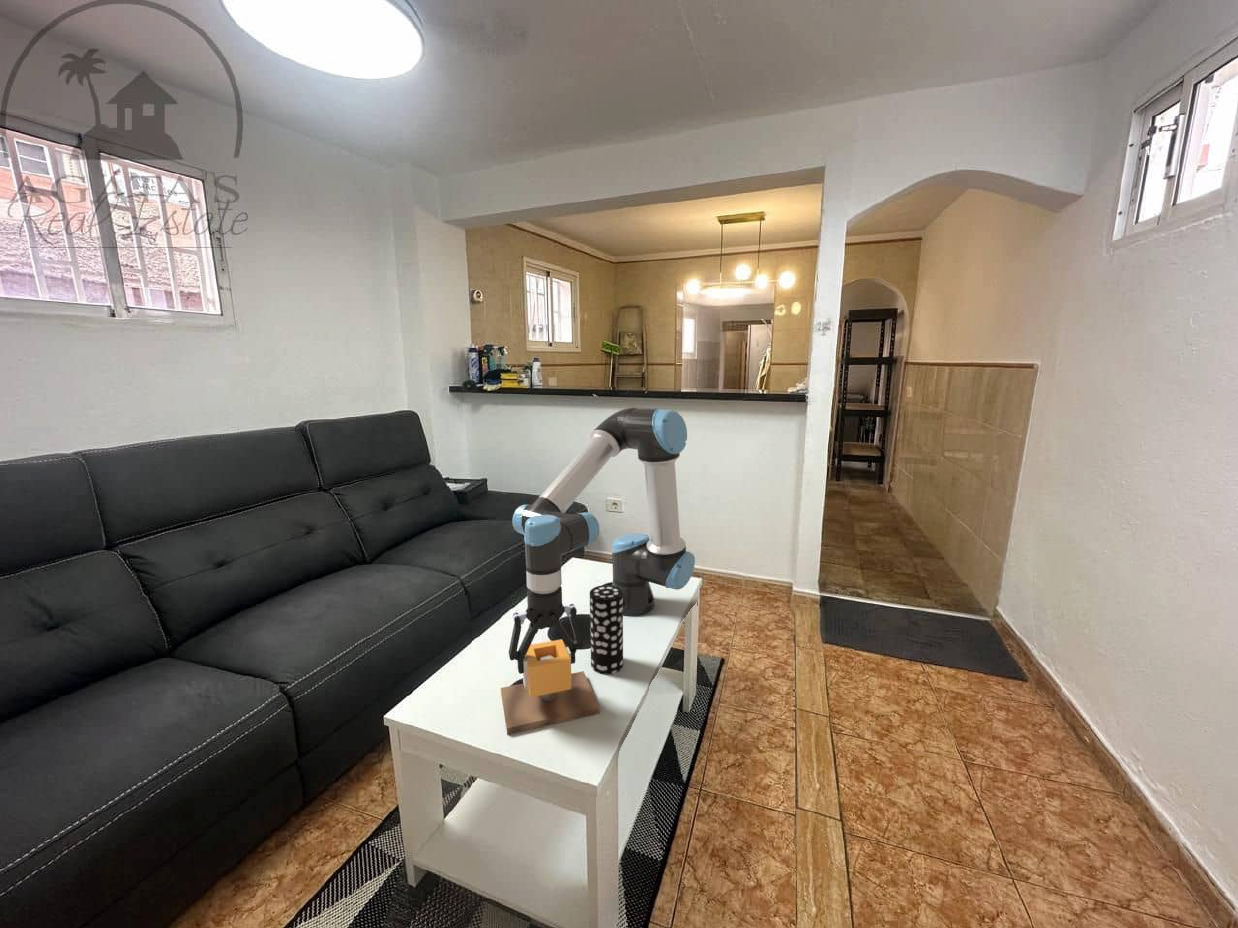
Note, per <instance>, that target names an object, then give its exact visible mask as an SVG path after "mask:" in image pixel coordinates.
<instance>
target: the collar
mask: <svg viewBox="0 0 1238 928" xmlns="http://www.w3.org/2000/svg"><path fill="white" fill-rule="evenodd" d="M566 647H567V646H566V644H565V641H564V639H563V638H562V639H556V640H550V641H544V642H539V643H533V644H532V643H531V645H530V647H529V649H528V651H527V653H526V658H527V669H528V690H529V694H530V698H531V697H535V696H540V695H545V694H550V693H555V692H560V691H564V690H569V689H571V674H572V664H571V659H570V657H569V655H568V652H567V650H566ZM546 655H550V656H553V657H554V658H551V659H545V660H540V658H541V657H543V656H546Z"/></svg>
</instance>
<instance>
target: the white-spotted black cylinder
mask: <svg viewBox="0 0 1238 928" xmlns="http://www.w3.org/2000/svg"><path fill="white" fill-rule="evenodd" d="M589 627H590V628H589V631H590V634H589V635H590V668H591V669H592V670H593V671H594V672H596V673H597V674H601V675H611V674H616V673H618V672H620V670H622V668H623V667H624V615H623V591H622V589H620V588H619V587H616V586H612V584H603V585H602V584H601V585H598V586H595V587H593V588H591V589H590V591H589Z"/></svg>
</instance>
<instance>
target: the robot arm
mask: <svg viewBox="0 0 1238 928" xmlns="http://www.w3.org/2000/svg"><path fill="white" fill-rule="evenodd" d="M589 438H590V439H589V440H588V442H587V443H586V444H585V445H584V446H583V447H582V449H580V451H579V452H577V454H576V455H575V456H574V457H573V458H572V460H571V461H570V462H569V463H568V464H567V465H566V466H565V468H563V470H562V471H561V472H560V473H559V474H558V475H557V476H556V477H555V479H554V480H553V481H552V482H551V483H550V484H549V485H548V486H547V487H546V489H544V491H543V492H542V493H541V494H540V495H539V496H538V498H537V499H535V501H534V502H533V503H532V504H522V505H519V506H518V507H517V508H516V509H515V511H514V513H513V515H512V521H511V522H512V526H513V529H514V531H516V533H519V534H521V535H523V536H524V537H523V540H524V549H525V554H524V555H525V568H526V571H525V573H526V587H527V589H526V598H527V600H526V601H527V602H526V603H527V608H526V610H525V611H524V612H521V613H519V612H516V611H515V612H514V613H513V615H512V618H513V621H514V624H513V627H512V632H511V633H512V634H511V639H510V645H509V648H508V657H509V660H510V661H514V660H515V661H517V671H518V673H519V675H521V674H522V682H523V683H524V687H525V689H526V688H528V669H527V658H526V653H527V651H528V649H529V647H530V645H532V642H533V641H534V639H535V636H536V635H537V634H538V631H539V630H540V631H541V630H545V629H546V628H549V629H551V628H554V627H555V629H556V630H557V631H558V633H559V634H560V636H561V637H562V640H563V642H564V644H565V645H566V646H565V647H566V650H567V652H568V655H569V657H570V659H571V665H573V664H575V663H576V653H577V649H579V648H580V649H581V648H583V647H584V642H583V638H582V635H581V630H580V627H579V625H578V620H577V613H578V611H577V607H575V606H576V605H575V604H574V603H570V604H569V605H565V606H564V605H563V588H562V556H564V555H567V554H568V553H572V552H573V551H575V550H579V549H581V548H584V547H587V546H588V545H591V543H592V544H593V542H595V541H596V540H597V539H598V538H599V536H600V531H601V530H600V524H599V521H598V519H597V517H595V515H594V514H592V513H591V512H585V511H584V512H579V513H576V514H570V513H566V511H567V510H568V509H569V508H570V507H571V506H572V505H573V504H574V502H575V501H576V500H577V499H578V497H580V495H581V494H582V492H583V491H585V489H586V488H587V486H589V484H590V483H591V482H592V480H593V479H595V477H596V476H597V474H598V473H599V472H600V471H601V470H602V469H603V467H604V466H605V465H606V464H607V463H608V462H609V460H610V459H611V458H615V457H617V456H618V455H619V454H620V452H621V451H624V450H628V449H632V450H636V451H637V457H638V460H639V461H640V462H641V463H642V464H643V465H644V476H645V487H646V497H647V509H648V519H649V530H650V531H649V532H650V537H649V535H648V534H645V533H629V534H628V533H627V534H623V535H619V536H617V537H616V538H615V539H613V542H612V550H611V556H612V559H611V560H612V562H611V563H612V583H611V585H612V586H616V587H619V588H620V589H622V591H623V616H633V617H634V616H640V615H645V614H647V613H650V612H651V611H652V610H653V609H654V607H655V596H654V594H653V590H652V587H651V584H650V583H652V584H654V585H658V586H662V587H665V588H666V589H673V590H676V591H679V590H681V589H683V588H685V586H687V584H688V583H689V582H690V580H691V578H692V576H693V573H694V570H695V562H696V560H695V559H696V558H695V555H694V553H692V552H691V551H687V545H686V541H685V539H683V538H682V537H681V532H680V530H681V529H680V520H679V519H680V518H679V504H678V490H677V488H678V487H677V477H676V475H677V473H676V461H677V460H678V459H679V458H680V455H681V452H683V450H684V449H685V447H686V445H687V441H688V429H687V425H686V422H685V420H684V418H683V416H682V415H680V414H679V412H677V411H676V410H672V409H666V408H648V407H647V408H646V407H645V408H643V407H640V408H639V407H627V408H623V409H620V410H619V411H617V412H615V413H613V414H611V415H609V416H608V417H607V418H605V419H604V420H603V421H602V422H600V424H599V425H598V426H596V428H594V430H593V431H592V432H591V434H590V437H589ZM564 613H565V614H566V616H567V617H568V619H569V622H570V625H571V629H572V632H573V636H574V640H572V639H571V637H570V636H569V634H568V632H567V630H566V629H565V627H564V625H562V623H561V621H560V620H561V618H562V617H563V616H564ZM526 619H527V620H528V622H530V623H529V624H528V629H527V631H526V633H525V635H524V637H523V638H522V641H521V644H520V645H519V641H520V637H521V630H522V625H523V624H524V623H525V620H526ZM518 647H519V648H518Z"/></svg>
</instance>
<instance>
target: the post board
mask: <svg viewBox="0 0 1238 928" xmlns="http://www.w3.org/2000/svg"><path fill="white" fill-rule="evenodd" d="M551 658H554V657H553V656H550V655H546V656H543V657H541V658H540V660H545V659H551ZM591 687H592V686H591V685H590V683H589V680H588V679H587V675H586V673H585V672H584V671H577V672H573V673H572V672H571V689H569V690H564V691H560V692H555V693H550V694H545V695H540V696H535V697H531V698H530V694H529V690H528V688H526V689H525V687H524V682H523V683H518V684H514V685H509V686H504V687H501V688H500V696H501V701H502V708H503V714H504V722H505V727H506V736H507V735H511V734H517V733H520V732H525V731H529V730H533V729H537V728H542V727H545V726H551V725H554V724H555V725H556V724H559V723H563V722H568V721H572V720H577V719H581V718H585V717H590V716H593V715H599V714H600V706H599V703H598V701H597V699H596V696H595V694H594V692H593V689H592V688H591Z"/></svg>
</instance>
